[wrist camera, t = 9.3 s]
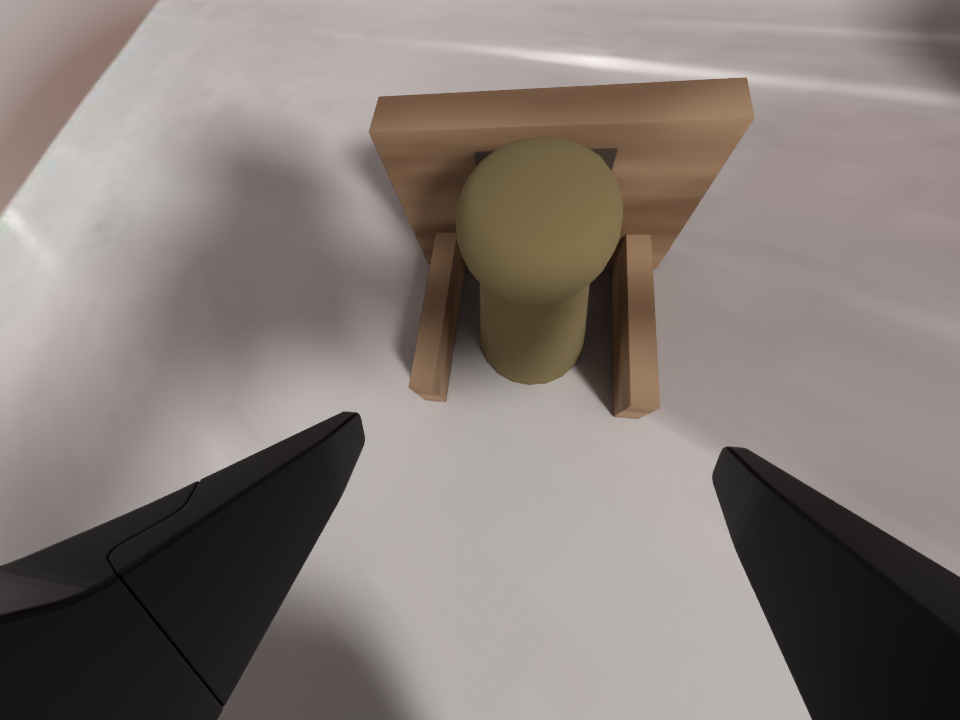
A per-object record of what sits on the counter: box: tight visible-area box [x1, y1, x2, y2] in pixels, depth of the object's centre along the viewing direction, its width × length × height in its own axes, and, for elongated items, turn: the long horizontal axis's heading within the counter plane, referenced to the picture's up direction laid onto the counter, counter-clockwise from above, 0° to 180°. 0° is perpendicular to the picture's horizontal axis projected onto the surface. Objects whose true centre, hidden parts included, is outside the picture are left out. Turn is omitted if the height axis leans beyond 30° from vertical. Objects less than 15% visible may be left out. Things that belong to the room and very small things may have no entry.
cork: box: [456, 136, 623, 385], centre depth 14 cm, size 6×6×11 cm
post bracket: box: [369, 78, 754, 419], centre depth 16 cm, size 11×14×9 cm
